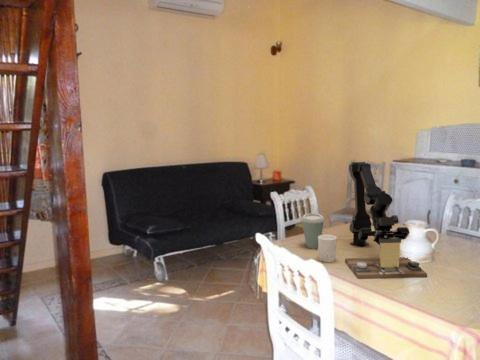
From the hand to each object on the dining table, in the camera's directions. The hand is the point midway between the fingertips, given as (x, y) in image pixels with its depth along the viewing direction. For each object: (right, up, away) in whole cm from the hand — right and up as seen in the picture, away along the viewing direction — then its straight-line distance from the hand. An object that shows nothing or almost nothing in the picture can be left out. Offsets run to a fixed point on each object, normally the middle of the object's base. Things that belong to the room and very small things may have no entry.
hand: (388, 253), depth 153 cm
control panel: (0, -7, +5) cm, 9 cm away
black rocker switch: (+10, -5, +1) cm, 11 cm away
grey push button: (-10, -5, +1) cm, 11 cm away
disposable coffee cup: (-23, -3, +36) cm, 42 cm away
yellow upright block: (0, -6, 0) cm, 6 cm away
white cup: (-20, -6, +17) cm, 27 cm away
